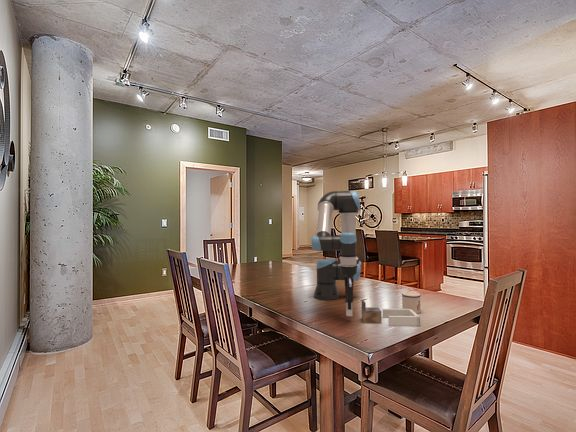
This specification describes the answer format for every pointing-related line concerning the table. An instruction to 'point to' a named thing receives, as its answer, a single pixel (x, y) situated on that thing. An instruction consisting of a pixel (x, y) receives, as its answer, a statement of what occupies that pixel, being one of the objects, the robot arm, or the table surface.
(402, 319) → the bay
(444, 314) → the table surface
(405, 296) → the teacup with lid
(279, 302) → the table surface
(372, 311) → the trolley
